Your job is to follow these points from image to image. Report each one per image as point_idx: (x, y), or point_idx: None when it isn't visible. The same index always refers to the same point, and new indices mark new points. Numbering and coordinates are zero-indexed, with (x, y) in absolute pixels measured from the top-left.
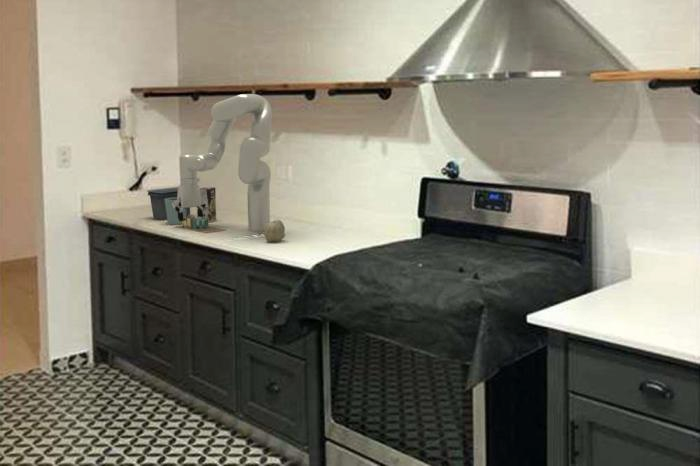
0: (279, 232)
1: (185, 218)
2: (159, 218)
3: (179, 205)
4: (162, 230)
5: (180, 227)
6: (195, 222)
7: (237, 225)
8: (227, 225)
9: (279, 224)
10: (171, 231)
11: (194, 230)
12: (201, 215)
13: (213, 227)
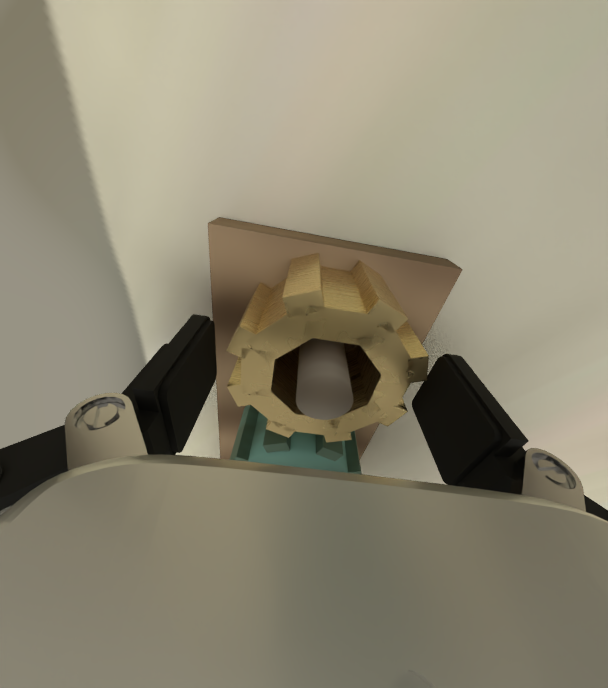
0: None
1: (235, 398)
2: None
3: (102, 488)
4: (81, 121)
5: (216, 315)
6: None
7: (596, 417)
8: (591, 379)
9: None
10: (150, 265)
11: (225, 448)
12: (428, 435)
13: (361, 453)
